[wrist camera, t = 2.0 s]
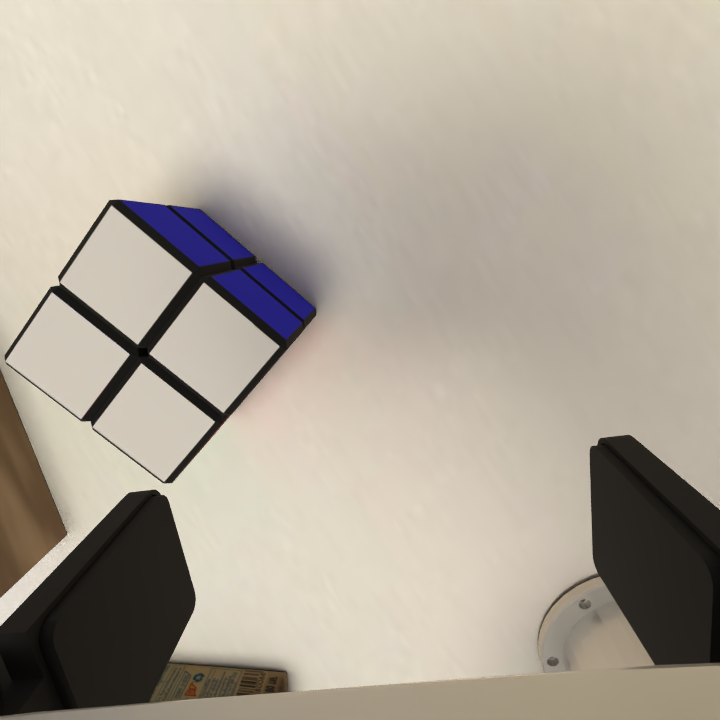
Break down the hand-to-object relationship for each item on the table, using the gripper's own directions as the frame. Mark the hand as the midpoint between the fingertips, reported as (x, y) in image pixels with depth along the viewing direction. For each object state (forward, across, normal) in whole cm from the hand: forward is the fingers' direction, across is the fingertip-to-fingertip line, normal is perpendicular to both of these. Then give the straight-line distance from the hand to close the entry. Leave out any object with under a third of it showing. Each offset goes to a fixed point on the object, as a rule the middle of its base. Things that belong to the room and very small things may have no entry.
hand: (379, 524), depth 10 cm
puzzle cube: (+22, +11, -2) cm, 25 cm away
